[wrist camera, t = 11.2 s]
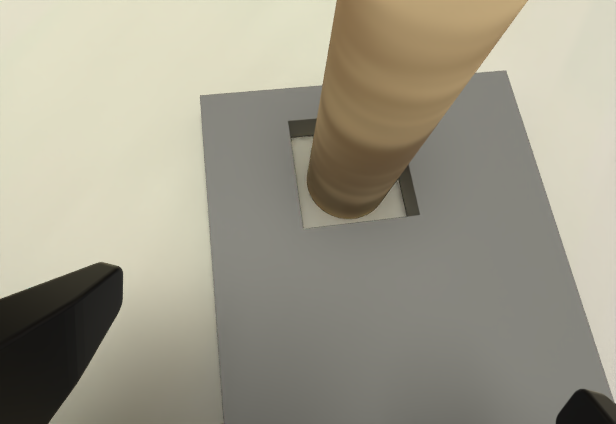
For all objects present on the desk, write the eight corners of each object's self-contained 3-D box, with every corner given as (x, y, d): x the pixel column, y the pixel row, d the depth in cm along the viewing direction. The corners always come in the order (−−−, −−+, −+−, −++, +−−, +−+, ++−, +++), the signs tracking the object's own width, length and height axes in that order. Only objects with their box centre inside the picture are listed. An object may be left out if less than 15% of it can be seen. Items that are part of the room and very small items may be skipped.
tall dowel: (393, 213, 18) (697, -129, 5) (313, 223, 18) (411, -120, 5) (377, 141, 19) (596, -303, 6) (301, 148, 19) (356, -308, 6)
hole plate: (600, 445, 16) (631, 455, 15) (236, 514, 15) (231, 532, 13) (490, 89, 21) (505, 70, 19) (205, 113, 19) (199, 95, 18)
